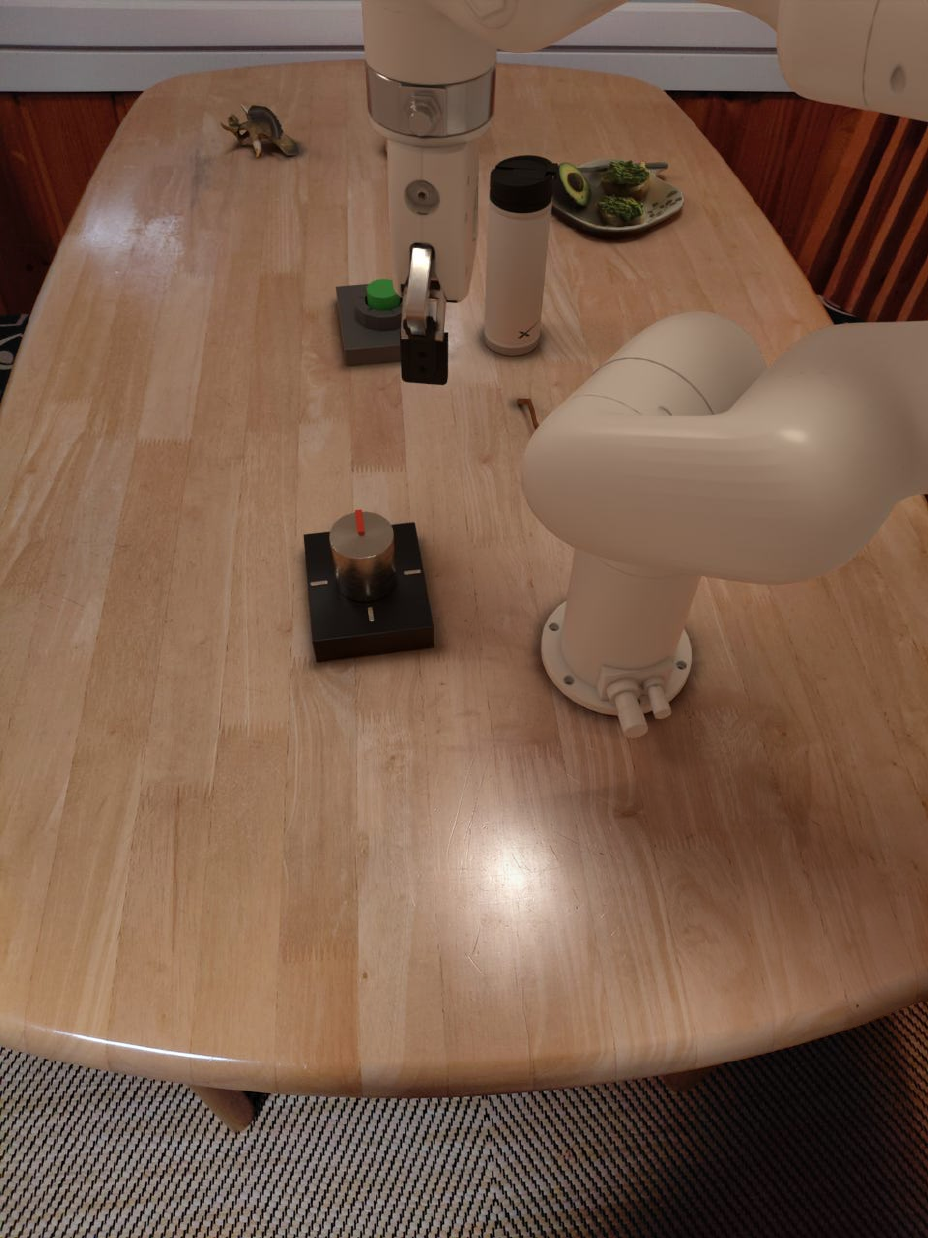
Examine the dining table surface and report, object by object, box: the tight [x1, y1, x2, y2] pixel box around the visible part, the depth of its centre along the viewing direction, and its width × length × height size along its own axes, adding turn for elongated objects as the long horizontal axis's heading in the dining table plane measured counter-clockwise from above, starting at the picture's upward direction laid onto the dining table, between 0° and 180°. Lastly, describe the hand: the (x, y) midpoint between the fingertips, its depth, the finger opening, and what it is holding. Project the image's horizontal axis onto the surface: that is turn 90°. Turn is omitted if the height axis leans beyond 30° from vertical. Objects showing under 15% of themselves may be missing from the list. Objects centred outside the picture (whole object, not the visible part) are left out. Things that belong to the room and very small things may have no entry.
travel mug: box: [483, 154, 559, 357], centre depth 97 cm, size 6×7×20 cm
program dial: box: [329, 508, 397, 602], centre depth 77 cm, size 5×5×6 cm
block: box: [335, 283, 431, 367], centre depth 104 cm, size 12×10×4 cm
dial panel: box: [303, 521, 435, 663], centre depth 81 cm, size 12×10×3 cm
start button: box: [367, 278, 400, 311], centre depth 103 cm, size 4×4×2 cm
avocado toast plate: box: [551, 157, 685, 241], centre depth 122 cm, size 19×18×5 cm
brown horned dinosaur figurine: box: [219, 103, 300, 158], centre depth 129 cm, size 8×7×9 cm
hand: (433, 338), depth 68 cm, fingers open, 9 cm apart
